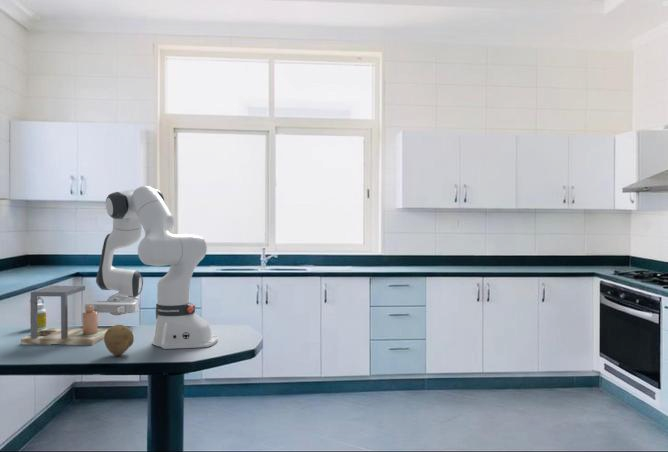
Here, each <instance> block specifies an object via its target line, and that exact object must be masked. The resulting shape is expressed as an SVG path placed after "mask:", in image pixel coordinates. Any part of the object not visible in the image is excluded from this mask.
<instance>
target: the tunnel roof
mask: <svg viewBox="0 0 668 452" xmlns="http://www.w3.org/2000/svg"><path fill="white" fill-rule="evenodd" d="M83 291H86V286H85V285H50V286H46V287H43V288H40V289H36V290H33V291H30V313H31V315H30V335H31V339H36V338H38V331H39V330H38V318H37V304H38V297H60V328H61V339H67V338H68V326H69V325H68V324H69V323H68V318H69V317H68V315H69V314H68V313H69V312H68V296H70V295H74V294H76V293H77V294H78V293H79V292H83Z"/></svg>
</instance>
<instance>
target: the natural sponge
mask: <svg viewBox="0 0 668 452" xmlns="http://www.w3.org/2000/svg"><path fill="white" fill-rule="evenodd" d="M107 329H108V330H107V331H106V333H105V335H104V339H103V341H104V344H105V347H106V349H107V351H109V352H110V354H112V355H113V356H116V357H118V356H122V355H123V354H124V353H126V352H127V350H129V348H130V347H132V345H133V343H134V341H135V339H134V334H133V331H132V330H131V329H130V328H129V327H128V326H126V325H123V324H115V325H113V326H111V327H109V328H107Z"/></svg>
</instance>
